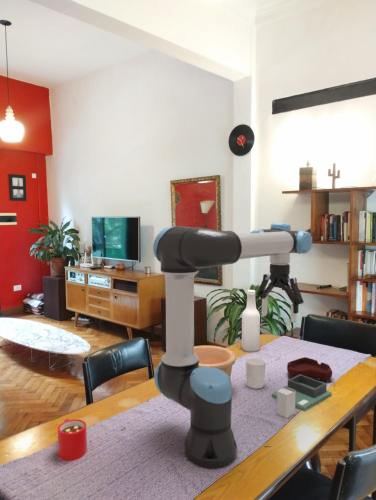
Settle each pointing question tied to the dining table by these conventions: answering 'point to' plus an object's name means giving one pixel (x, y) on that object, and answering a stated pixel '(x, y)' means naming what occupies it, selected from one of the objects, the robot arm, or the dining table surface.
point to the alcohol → (250, 324)
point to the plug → (286, 401)
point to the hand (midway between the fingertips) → (278, 317)
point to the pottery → (215, 358)
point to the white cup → (255, 372)
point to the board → (307, 391)
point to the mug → (72, 439)
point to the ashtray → (309, 369)
